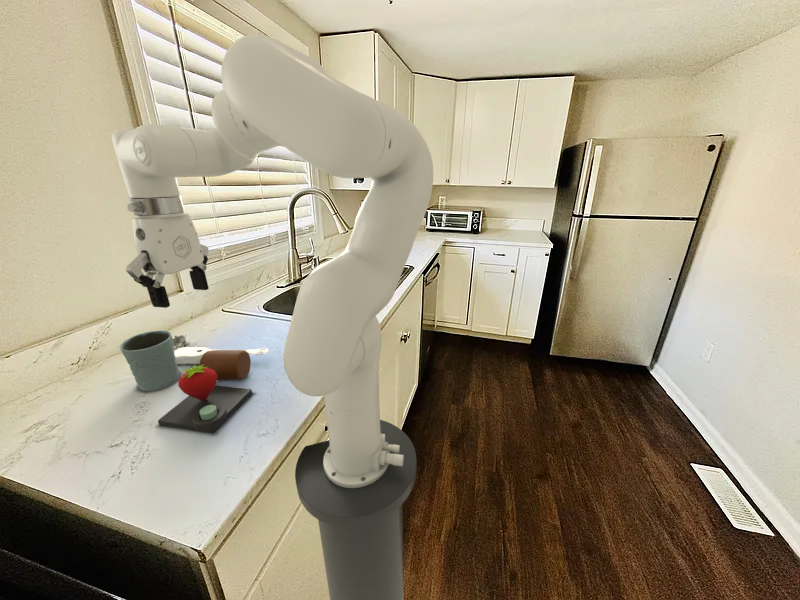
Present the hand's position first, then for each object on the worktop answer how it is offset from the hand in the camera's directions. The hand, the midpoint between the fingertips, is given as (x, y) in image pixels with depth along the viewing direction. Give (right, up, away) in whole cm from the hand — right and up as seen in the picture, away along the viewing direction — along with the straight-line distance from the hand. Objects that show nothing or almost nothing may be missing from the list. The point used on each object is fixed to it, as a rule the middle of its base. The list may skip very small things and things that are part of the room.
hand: (182, 297), depth 64 cm
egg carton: (-25, -16, +33) cm, 44 cm away
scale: (0, -25, +8) cm, 26 cm away
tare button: (+4, -24, +3) cm, 25 cm away
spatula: (-8, -18, +28) cm, 34 cm away
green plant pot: (-18, -21, +19) cm, 34 cm away
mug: (+4, -17, +21) cm, 27 cm away
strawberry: (-1, -23, +9) cm, 25 cm away
